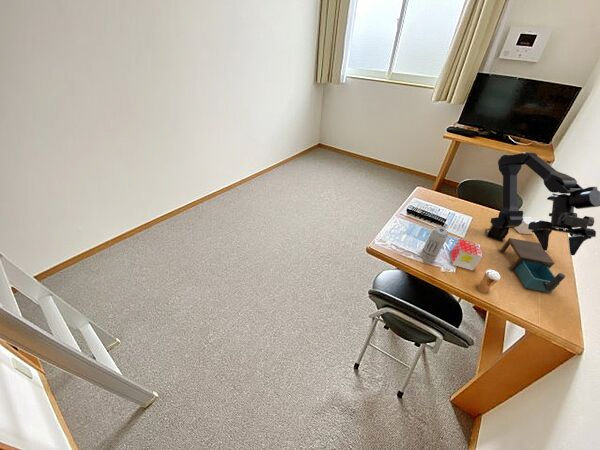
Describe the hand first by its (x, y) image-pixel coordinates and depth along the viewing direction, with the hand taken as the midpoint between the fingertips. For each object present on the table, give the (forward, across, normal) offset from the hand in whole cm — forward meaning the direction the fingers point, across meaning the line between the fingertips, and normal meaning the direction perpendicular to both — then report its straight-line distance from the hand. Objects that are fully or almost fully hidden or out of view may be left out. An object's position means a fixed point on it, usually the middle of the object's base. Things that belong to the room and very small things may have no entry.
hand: (558, 252), depth 98 cm
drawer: (+12, 0, +11) cm, 16 cm away
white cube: (-14, +12, +38) cm, 42 cm away
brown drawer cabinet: (+4, 0, +19) cm, 19 cm away
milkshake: (+18, -22, +5) cm, 29 cm away
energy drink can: (+10, -40, +13) cm, 43 cm away
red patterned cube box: (+8, -26, +15) cm, 31 cm away
